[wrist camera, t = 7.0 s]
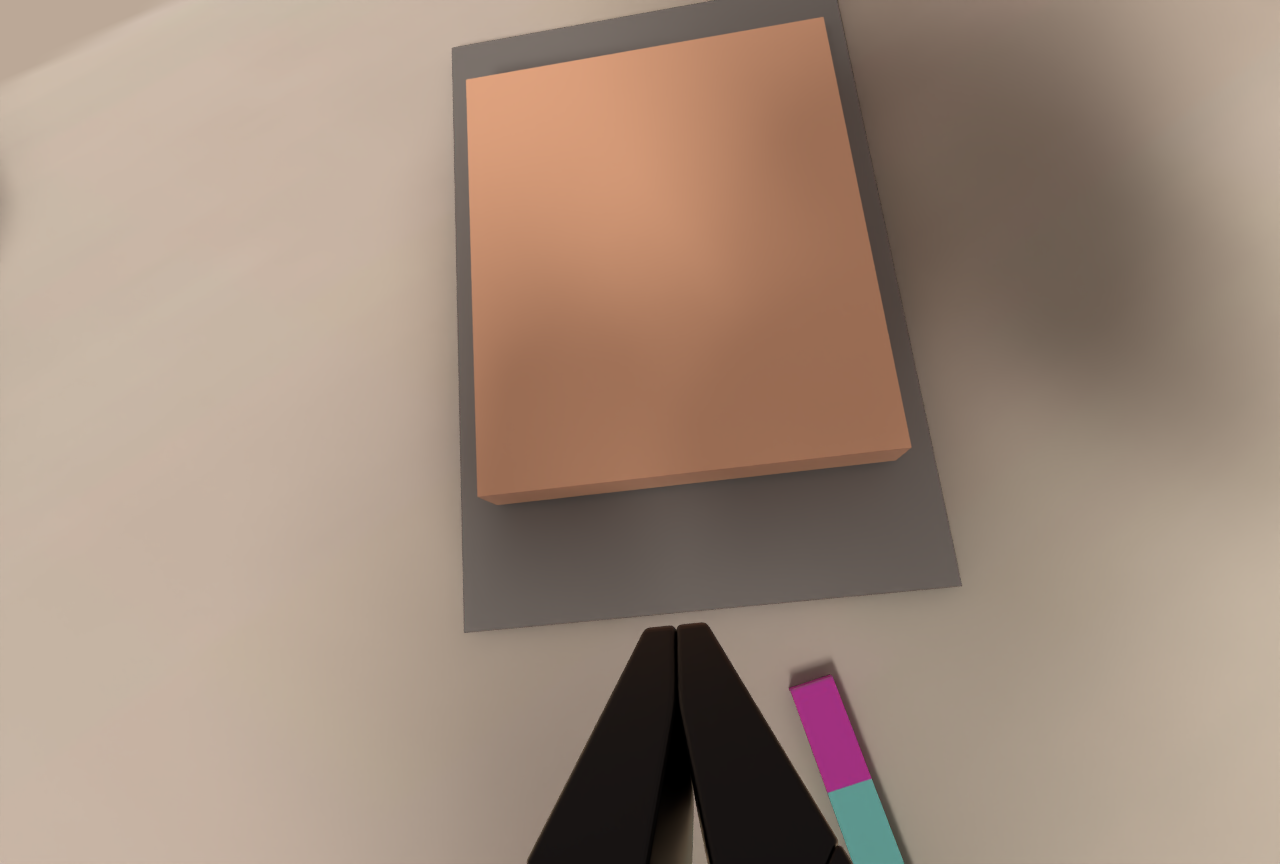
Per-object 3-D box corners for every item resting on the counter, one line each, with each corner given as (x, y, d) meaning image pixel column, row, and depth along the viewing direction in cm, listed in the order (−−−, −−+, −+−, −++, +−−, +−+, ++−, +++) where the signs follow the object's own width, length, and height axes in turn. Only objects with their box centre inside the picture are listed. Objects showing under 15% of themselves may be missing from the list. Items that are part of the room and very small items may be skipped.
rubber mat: (956, 586, 16) (962, 586, 15) (470, 631, 17) (464, 632, 16) (830, -10, 20) (832, -21, 20) (456, 57, 22) (451, 47, 21)
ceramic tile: (912, 447, 15) (823, 16, 18) (477, 497, 16) (465, 79, 19) (893, 462, 16) (815, 63, 19) (499, 506, 17) (485, 119, 20)
